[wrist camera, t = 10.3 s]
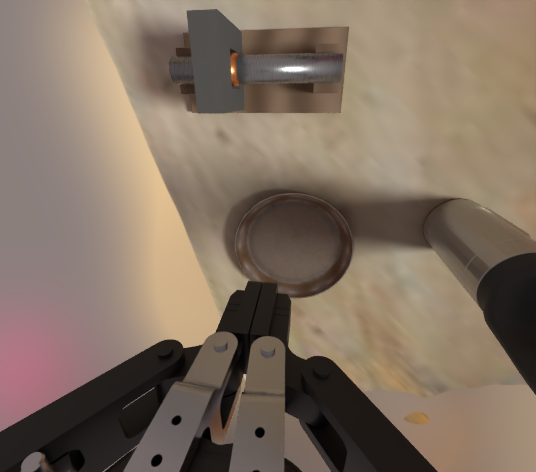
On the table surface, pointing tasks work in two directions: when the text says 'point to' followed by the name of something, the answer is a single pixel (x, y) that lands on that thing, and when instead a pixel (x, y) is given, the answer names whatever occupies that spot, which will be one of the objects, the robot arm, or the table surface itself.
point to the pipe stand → (292, 94)
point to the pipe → (270, 68)
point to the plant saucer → (294, 244)
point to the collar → (214, 61)
